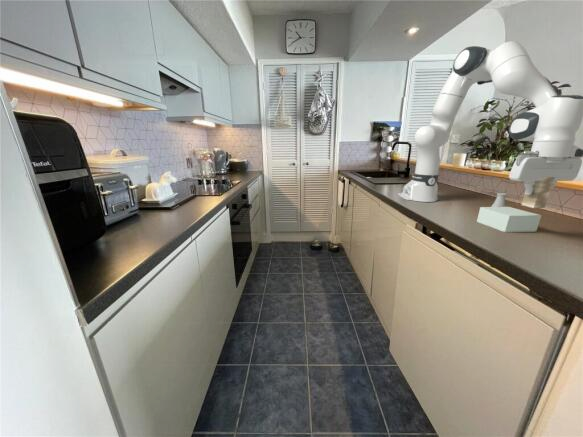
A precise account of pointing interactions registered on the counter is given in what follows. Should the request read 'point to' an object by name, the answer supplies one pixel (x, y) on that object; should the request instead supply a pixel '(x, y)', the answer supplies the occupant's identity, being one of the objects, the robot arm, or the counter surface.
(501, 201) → the flask
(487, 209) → the sage step
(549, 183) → the birch block
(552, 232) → the counter surface
